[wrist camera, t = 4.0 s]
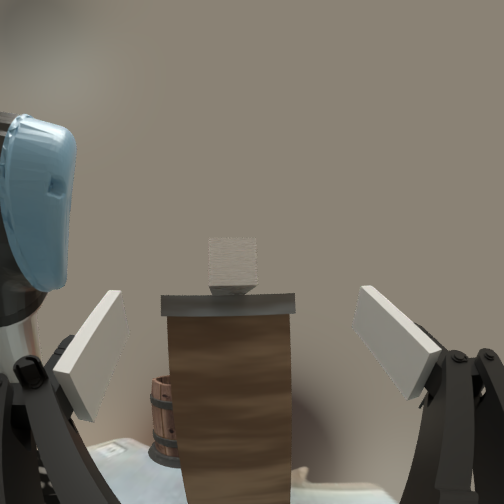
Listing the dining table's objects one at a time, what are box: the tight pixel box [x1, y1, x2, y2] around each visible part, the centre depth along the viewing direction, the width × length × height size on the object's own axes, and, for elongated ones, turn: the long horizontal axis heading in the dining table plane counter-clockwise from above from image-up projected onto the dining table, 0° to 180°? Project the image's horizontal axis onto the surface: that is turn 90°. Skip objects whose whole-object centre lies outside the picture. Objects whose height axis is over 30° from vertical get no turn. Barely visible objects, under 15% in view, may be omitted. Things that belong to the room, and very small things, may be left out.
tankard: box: [148, 375, 181, 468], centre depth 50 cm, size 24×17×20 cm
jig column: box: [161, 293, 295, 504], centre depth 28 cm, size 13×13×37 cm
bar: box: [209, 238, 258, 295], centre depth 32 cm, size 32×3×3 cm, turn 7°
